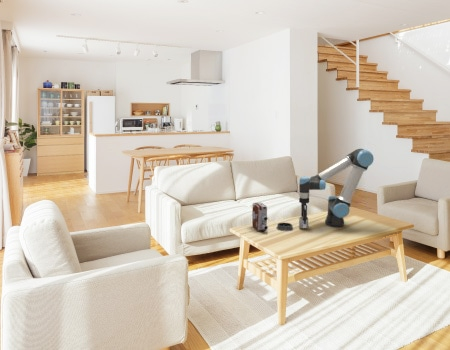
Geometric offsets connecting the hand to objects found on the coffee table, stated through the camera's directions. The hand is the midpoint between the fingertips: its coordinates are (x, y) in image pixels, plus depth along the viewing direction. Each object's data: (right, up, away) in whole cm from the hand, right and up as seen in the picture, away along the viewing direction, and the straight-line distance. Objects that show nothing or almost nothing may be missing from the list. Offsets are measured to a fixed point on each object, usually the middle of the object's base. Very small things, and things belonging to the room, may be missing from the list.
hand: (303, 226), depth 305 cm
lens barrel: (-15, -2, 0) cm, 15 cm away
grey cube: (0, 0, 0) cm, 0 cm away
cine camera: (-34, -3, -3) cm, 34 cm away
